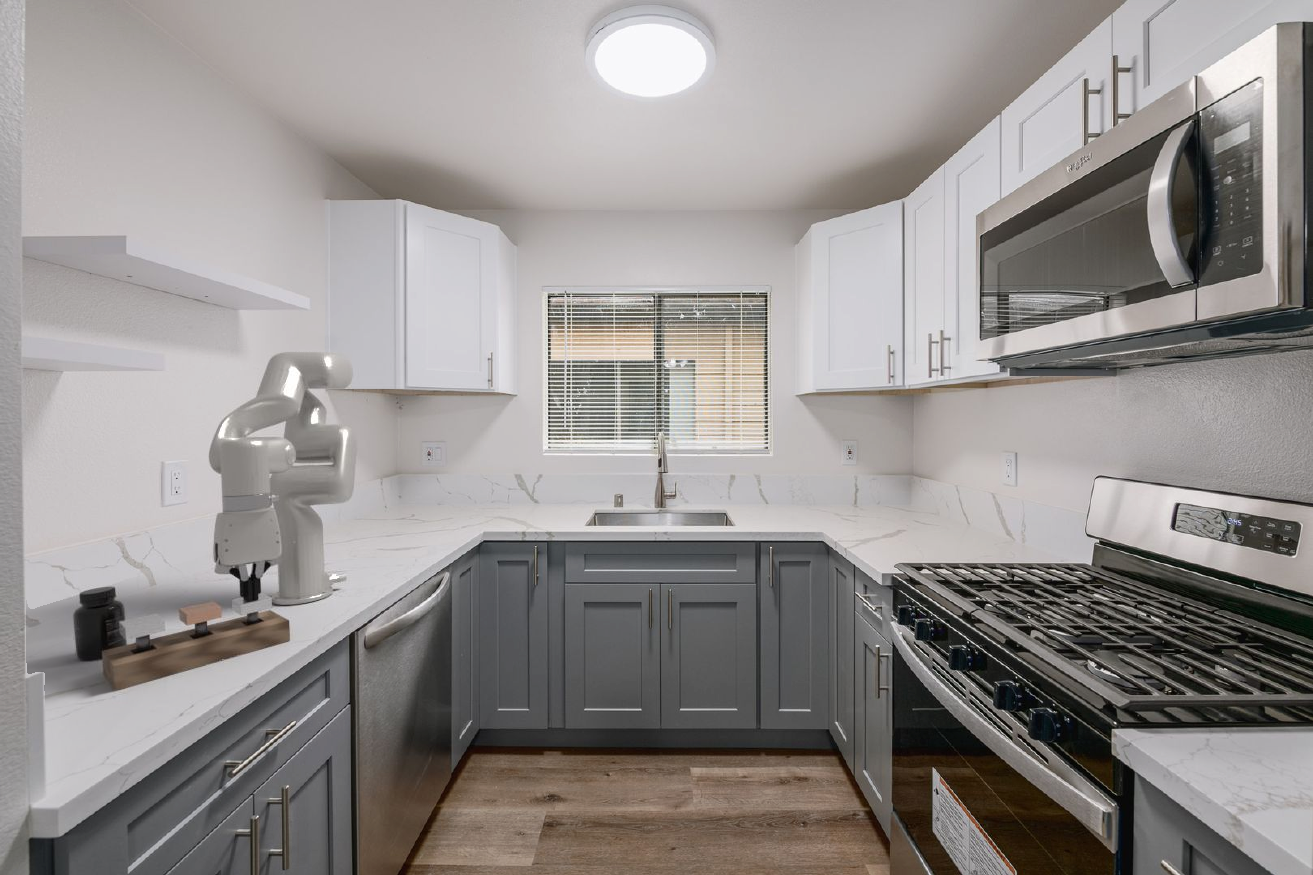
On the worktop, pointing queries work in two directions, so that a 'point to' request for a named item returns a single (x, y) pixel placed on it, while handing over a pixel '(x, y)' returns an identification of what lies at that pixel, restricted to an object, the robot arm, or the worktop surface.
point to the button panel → (192, 649)
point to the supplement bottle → (98, 623)
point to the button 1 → (142, 630)
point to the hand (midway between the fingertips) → (250, 599)
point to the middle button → (200, 616)
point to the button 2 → (252, 607)
